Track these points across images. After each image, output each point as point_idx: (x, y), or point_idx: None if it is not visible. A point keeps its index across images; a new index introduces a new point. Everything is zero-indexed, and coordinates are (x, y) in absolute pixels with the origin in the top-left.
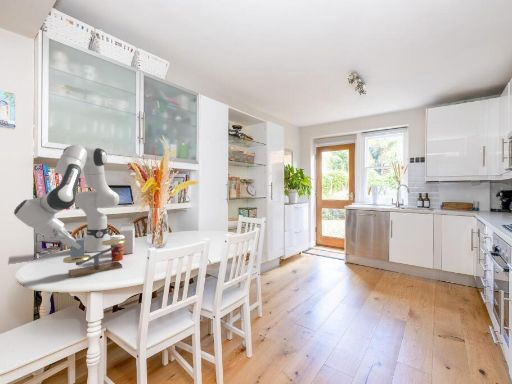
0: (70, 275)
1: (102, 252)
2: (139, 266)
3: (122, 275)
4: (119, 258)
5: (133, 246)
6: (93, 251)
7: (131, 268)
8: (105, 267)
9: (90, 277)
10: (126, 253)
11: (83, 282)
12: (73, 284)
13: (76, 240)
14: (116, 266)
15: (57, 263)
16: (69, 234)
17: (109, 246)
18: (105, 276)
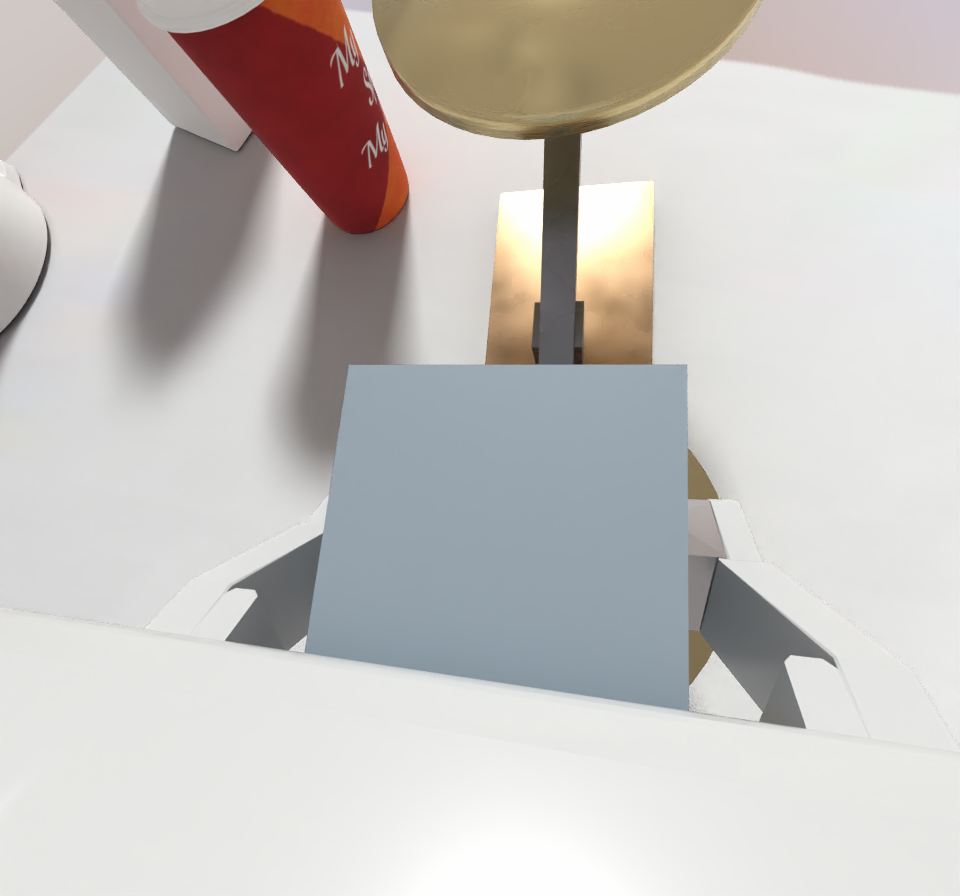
0: None
1: (576, 235)
2: (719, 79)
3: (916, 238)
4: (402, 171)
5: None
6: (15, 307)
7: (733, 142)
8: (631, 315)
9: (768, 481)
10: None
11: (903, 571)
12: (908, 664)
13: (683, 602)
14: (652, 230)
15: (102, 610)
16: (133, 815)
17: (4, 182)
18: (836, 366)
